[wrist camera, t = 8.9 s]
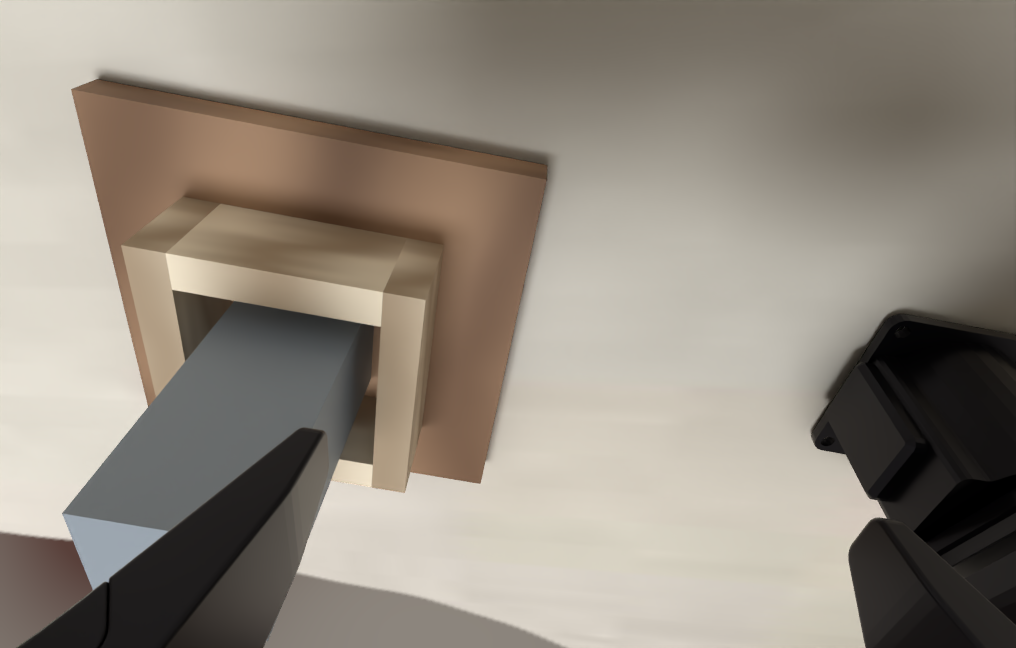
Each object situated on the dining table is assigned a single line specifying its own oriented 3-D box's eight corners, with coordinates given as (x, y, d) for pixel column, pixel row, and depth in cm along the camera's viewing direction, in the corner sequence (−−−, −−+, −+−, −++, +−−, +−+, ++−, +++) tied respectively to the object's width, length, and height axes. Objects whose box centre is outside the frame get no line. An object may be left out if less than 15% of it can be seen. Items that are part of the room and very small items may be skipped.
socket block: (547, 165, 19) (544, 229, 15) (483, 462, 27) (471, 551, 23) (97, 79, 18) (-18, 124, 15) (168, 409, 26) (105, 491, 23)
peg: (376, 291, 21) (257, 546, 13) (370, 378, 23) (267, 641, 15) (259, 269, 21) (61, 513, 12) (265, 359, 23) (103, 614, 15)
